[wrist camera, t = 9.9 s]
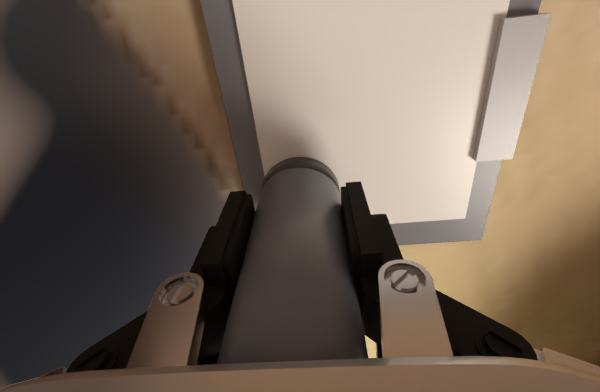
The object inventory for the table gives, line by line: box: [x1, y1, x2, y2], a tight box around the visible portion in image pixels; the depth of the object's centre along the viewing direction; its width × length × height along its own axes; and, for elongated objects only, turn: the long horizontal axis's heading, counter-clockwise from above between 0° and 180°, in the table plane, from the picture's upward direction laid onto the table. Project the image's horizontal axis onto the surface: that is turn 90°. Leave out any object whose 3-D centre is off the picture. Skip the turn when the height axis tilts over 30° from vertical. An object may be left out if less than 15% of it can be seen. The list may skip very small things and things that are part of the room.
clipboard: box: [200, 0, 551, 245], centre depth 12 cm, size 11×14×1 cm
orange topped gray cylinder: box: [217, 157, 368, 364], centre depth 9 cm, size 4×4×11 cm
